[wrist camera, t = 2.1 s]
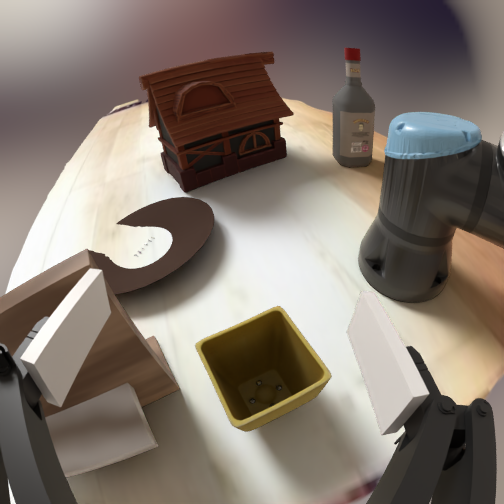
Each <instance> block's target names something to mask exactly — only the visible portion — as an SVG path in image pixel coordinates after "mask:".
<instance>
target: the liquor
mask: <svg viewBox="0 0 504 504" xmlns="http://www.w3.org/2000/svg"><path fill="white" fill-rule="evenodd" d="M345 60H346V81H345V86H343V88H342V89H340V90H339V91H338V93H337V94H336V95H335V96H334V98H333V156H334V158H335V159H336V160H337V161H338V162H339V164H340V165H343V166H347V167H362V166H367V165H368V164H369V163H370V162H371V160H372V149H373V135H374V114H375V104H374V102H373V100H372V98H371V97H370V96H369V94H368V93H367V92H366V91H365V90H364V88H363V87H362V83H361V78H360V49H355V48H345Z"/></svg>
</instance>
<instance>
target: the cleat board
mask: <svg viewBox="0 0 504 504" xmlns="http://www.w3.org/2000/svg"><path fill="white" fill-rule="evenodd" d="M90 268H91V269H99V268H98V266H97V265H96V263H95V261H94V259H93V258H92V256H91V254H90V252H89V250H88V249H85V250H84V251H82V252H80V253H78V254H76V255H74V256H72V257H70V258H68V259H66V260H64V261H63V262H61V263H59V264H57V265H55V266H53V267H52V268H50V269H48V270H46V271H44V272H43V273H41V274H39V275H37V276H36V277H34V278H32V279H30V280H29V281H27V282H25V283H23V284H22V285H20V286H18V287H17V288H15V289H13V290H12V291H10V292H8V293H7V294H5V295H4V296H2V297H0V343H1V344H4V345H5V346H6V347H7V348H8V350H9V352H10V354H11V356H13V355H14V353H15V352H16V351H17V349H18V348H19V346H20V345H21V344H22V342H23V341H24V339H25V338H26V337H27V335H28V334H29V333H30V331H32V329H33V327H34V326H35V325H36V323H37V322H39V321H40V320H41V319H43V318H44V317H50V316H51V315H52V314H53V312H54V311H55V310H56V309H57V307H58V306H59V305H60V303H61V302H62V301H63V300H64V299H65V297H66V296H67V295H68V294H69V292H70V291H71V290H72V289H73V288H74V286H75V285H76V284H77V283H78V282H79V281H80V279H81V278H82V277H83V276H84V275H85V274H86V272H87V271H88V270H89V269H90ZM103 277H104V276H103ZM104 282H105V287H106V292H107V296H108V301H109V305H110V310H111V314H110V316H109V317H108V319H107V321H106V323H105V324H104V326H103V328H102V330H101V331H100V333H99V335H98V337H97V338H96V340H95V342H94V344H93V346H92V347H91V349H90V351H89V353H88V355H87V357H86V358H85V360H84V362H83V364H82V366H81V368H80V370H79V372H78V374H77V376H76V378H75V380H74V382H73V384H72V386H71V388H70V390H69V392H68V394H67V396H66V398H65V400H64V402H63V404H62V406H61V407H59V406H56V405H53V404H51V403H48V402H47V401H46V399H45V398H44V396H43V395H41V397H40V399H39V400H40V401H41V404H42V407H43V411H44V415H45V419H46V422H47V426H48V429H49V433H50V436H51V439H52V442H53V445H54V448H55V451H56V454H57V457H58V459H59V462H60V465H61V467H62V470H63V472H64V475H65V477H70V476H74V475H78V474H81V473H85V472H88V471H92V470H95V469H98V468H101V467H104V466H107V465H110V464H113V463H116V462H119V461H122V460H125V459H127V458H130V457H133V456H135V455H138V454H141V453H143V452H146V451H148V450H151V449H153V448H155V447H158V444H157V442H156V440H155V437H154V435H153V433H152V431H151V429H150V426H149V424H148V422H147V420H146V417H145V415H144V413H143V410H142V408H141V407H143V406H145V405H147V404H150V403H152V402H154V401H156V400H158V399H160V398H162V397H165V396H167V395H169V394H171V393H173V392H175V391H177V390H179V389H180V388H179V386H178V384H177V382H176V380H175V378H174V376H173V374H172V372H171V370H170V368H169V366H168V364H167V362H166V359H165V357H164V355H163V353H162V351H161V348H160V346H159V344H158V342H157V340H156V338H155V337H154V336H152V337H150V338H148V339H146V340H145V338H144V337H143V336H142V334H141V333H140V332H139V330H138V329H137V327H136V326H135V324H134V323H133V322H132V320H131V319H130V317H129V316H128V314H127V313H126V311H125V310H124V308H123V307H122V305H121V304H120V302H119V301H118V299H117V297H116V296H115V294H114V293H113V291H112V290H111V288H110V286H109V285H108V283H107V281H106V280H105V278H104Z"/></svg>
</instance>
